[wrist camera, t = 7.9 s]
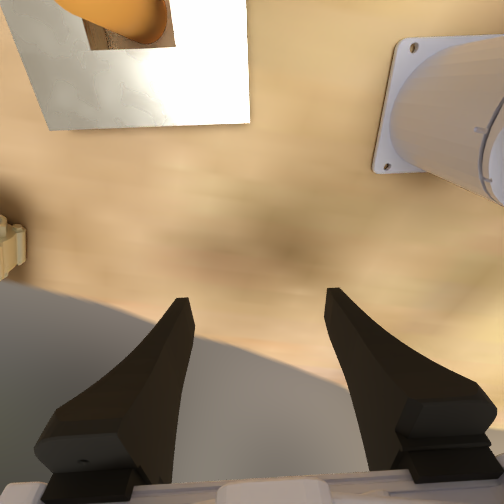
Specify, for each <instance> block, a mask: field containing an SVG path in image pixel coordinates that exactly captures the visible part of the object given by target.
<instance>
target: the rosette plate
mask: <svg viewBox="0 0 504 504" xmlns="http://www.w3.org/2000/svg"><path fill="white" fill-rule="evenodd" d="M169 1H170V8H171V15H172V22H173V29H174V36H175V43H176V47H172V48H145V49H118V50H109V47H108V43H107V39H106V35H105V31H104V27H101V26H99V25H97V24H94V23H92V22H90V21H87V20H85V19H83V18H80V17H78V16H76V15H73V14H71V13H70V12H68V11H66V10H65V9H63V8H62V7H61V6H60V5H59V4H57V3H56V2H55V1H54V0H0V6H1V8H2V11H3V13H4V16H5V18H6V21H7V23H8V26H9V29H10V31H11V34H12V36H13V39H14V41H15V44H16V46H17V49H18V52H19V54H20V57H21V59H22V62H23V64H24V67H25V69H26V72H27V75H28V77H29V80H30V82H31V85H32V87H33V90H34V92H35V95H36V98H37V100H38V103H39V105H40V108H41V110H42V113H43V115H44V118H45V121H46V123H47V126H48V128H49V131H55V130H80V129H105V128H130V127H156V126H181V125H206V124H231V123H250V115H249V85H248V56H247V26H246V0H169Z"/></svg>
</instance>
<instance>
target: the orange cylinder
mask: <svg viewBox="0 0 504 504" xmlns="http://www.w3.org/2000/svg"><path fill="white" fill-rule="evenodd" d="M54 1H55V2H56V3H57V4H59V5H60V6H61V7H62V8H63V9H65V10H66V11H68V12H70V13H71V14H73V15H76V16H78V17H80V18H83V19H85V20H87V21H90V22H92V23H94V24H97V25H99V26H101V27H104V28H106V29H108V30H110V31H113V32H115V33H117V34H120V35H122V36H124V37H127V38H129V39H131V40H134V41H136V42H138V43H143V44H149V43H152V42H155V41H156V40H158V39H159V38H160V37H161V35H162V34H163V32H164V30H165V27H166V22H167V10H166V5H165V1H164V0H54Z"/></svg>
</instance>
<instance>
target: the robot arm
mask: <svg viewBox="0 0 504 504" xmlns="http://www.w3.org/2000/svg"><path fill="white" fill-rule="evenodd" d="M412 44H414V45H415V50H414V52H413V53H411V52H410V46H411V45H412ZM386 164H388V165H389V166H388V168H386V169H384V166H385V165H386ZM372 170H373V172H375V173H376V174H391V173H416V172H429V173H431V174H433V175H436V176H438V177H440V178H442V179H444V180H447V181H449V182H451V183H453V184H455V185H457V186H460V187H462V188H464V189H466V190H468V191H470V192H473V193H475V194H477V195H479V196H481V197H484V198H486V199H488V200H490V201H492V202H494V203H497V204H499V205H501V206H504V34H494V35H467V36H440V37H414V38H405V39H402V40H400V41H399V42H398V43H397V45H396V47H395V50H394V56H393V61H392V66H391V71H390V76H389V81H388V86H387V91H386V97H385V102H384V107H383V112H382V117H381V122H380V127H379V132H378V137H377V143H376V148H375V153H374V158H373V163H372ZM324 319H325V323H326V327H327V331H328V335H329V337H330V340H331V343H332V345H333V348H334V350H335V353H336V355H337V358H338V360H339V363H340V366H341V368H342V371H343V373H344V376H345V379H346V382H347V385H348V388H349V392H350V395H351V398H352V402H353V406H354V409H355V413H356V417H357V421H358V424H359V429H360V433H361V436H362V440H363V445H364V449H365V453H366V457H367V462H368V466H369V471H370V472H355V473H354V472H353V473H337V474H321V475H305V476H289V477H272V478H255V479H239V480H223V481H206V482H192V483H191V482H190V483H173V484H171V482H172V471H173V460H174V450H175V440H176V432H177V424H178V423H177V422H178V415H179V407H180V401H181V393H182V388H183V384H184V379H185V375H186V371H187V367H188V363H189V358H190V355H191V350H192V346H193V339H194V331H195V323H194V319H193V315H192V311H191V307H190V303H189V298H188V297H187V298H176V299H175V301H174V302H173V303H172V305H171V306H170V307H169V309H168V310H167V311H166V313H165V314H164V315H163V317H162V318H161V319H160V320H159V322H158V323H157V324H156V325H155V327H154V328H153V329H152V330H151V332H150V333H149V334H148V335H147V336H146V337H145V338H144V339H143V341H142V342H141V343H140V344H139V345H138V346H137V347H136V348H135V349H134V350H133V351H132V352H131V353H130V354H129V355H128V356H127V357H126V358H125V359H124V360H123V361H122V362H120V363H119V364H118V365H117V366H116V367H115V368H113V369H112V370H111V371H110V372H109V373H107V374H106V375H105V376H104V377H102V378H101V379H100V380H99V381H97V382H96V383H95V384H93V385H92V386H91V387H89V388H88V389H86V390H85V391H84V392H82V393H81V394H79V395H78V396H76V397H75V398H73V399H72V400H70V401H69V402H67V403H66V404H64V405H62V406H61V407H60V408H58V409H56V411H55V412H54V414H53V416H52V417H51V418H50V420H49V422H48V424H47V425H46V427H45V429H44V431H43V433H42V434H41V436H40V438H39V440H38V441H37V443H36V445H35V447H34V452H35V455H36V457H37V458H38V459H39V460H40V461H41V462H42V463H43V464H44V465H45V466H46V467H47V468H48V469H49V470H50V471H51V472H52V473H53V475H52V477H51V479H50V481H49V483H48V484H47V483H44V482H23V483H10V484H8V485H7V486H6V488H5V489H4V491H3V493H2V494H1V496H0V504H504V453H502V454H499V455H497V456H494V454H493V453H492V451H491V450H490V448H489V446H491V442H490V440H489V439H488V437H487V436H486V434H485V431H486V430H487V429H488V428H489V426H490V425H491V424H492V422H493V421H494V420H495V418H496V416H497V408H496V406H495V405H494V404H493V402H492V401H491V400H490V399H489V397H488V396H487V395H486V393H485V392H484V391H483V390H482V389H481V387H480V386H479V385H478V384H477V383H476V382H474V381H472V380H470V379H468V378H466V377H463V376H461V375H459V374H457V373H455V372H453V371H451V370H449V369H447V368H445V367H443V366H441V365H439V364H437V363H435V362H434V361H432V360H430V359H428V358H426V357H425V356H423V355H421V354H420V353H418V352H416V351H415V350H413V349H412V348H410V347H408V346H407V345H405V344H404V343H402V342H401V341H399V340H398V339H397V338H395V337H394V336H392V335H391V334H390V333H388V332H387V331H386V330H384V329H383V328H382V327H381V326H380V325H378V324H377V323H376V322H375V321H374V320H372V319H371V318H370V317H369V316H368V315H367V314H366V313H365V312H364V311H362V310H361V309H360V308H359V307H358V306H357V305H356V304H355V303H354V302H353V301H352V300H351V299H350V298H349V297H348V296H347V295H346V294H345V293H344V292H343V291H342V290H341V289H340V288H327V294H326V304H325V313H324Z"/></svg>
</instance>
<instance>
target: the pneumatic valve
mask: <svg viewBox="0 0 504 504" xmlns="http://www.w3.org/2000/svg"><path fill="white" fill-rule="evenodd" d="M25 261H26V229H25V228H24V227H22V225H20V224H14V225H13V226H11V225H9V224H7V218H6V217H4V216H3V215H0V282H1V280H2V279H4V278H6V277H7V276H8V274H9V271H10V270H12V269H13V268H14V267H15V266H16V265H22V264H23V262H25Z"/></svg>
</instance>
